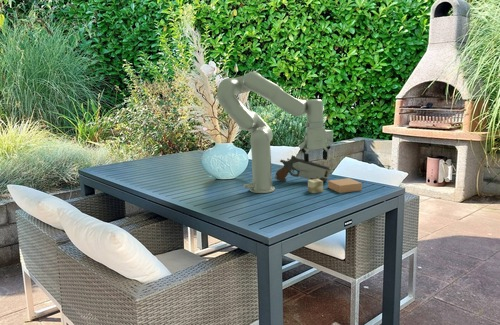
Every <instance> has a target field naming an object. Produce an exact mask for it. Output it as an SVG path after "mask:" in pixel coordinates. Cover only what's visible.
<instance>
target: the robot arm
mask: <svg viewBox="0 0 500 325" xmlns="http://www.w3.org/2000/svg"><path fill="white" fill-rule="evenodd" d="M217 86H218V87H217V90H216V96H217V101H218V103H219V104H220V106H221V107H222V108H223V110H224V111H225V112H226V113H227V114H228V115H229V117H230V118H231V119H232V120H233V121H234V122H235V123H236V125H237V126H238V127H239V128H240V129H241V130H243V131H248V133H250V141H249V142H250V148H251V149H250V150H251V170H252V172H251V173H252V181H250V182H249V183H243V189H249V191H250V192H251V193H254V194H255V193H256V194H267V193H272V192H275V191H276V187H275V186H274V185H272V184H273V182H272V181H273V178H272V150H271V141H272V140H273V138H274V137H273V136H274V133H273V131H272V129H271V127H270V126H269V125H268V124H267V123H266V122H265V121H264V119H263V118H262V117H261V116H260V115H259V114H258V113H257V112H256V111H253V110H252V109H251V110H250V109H248V108H247V107H246V106H245V105H244V104H243V103H242V102H241V101H240V100H239V99H238V98H237V97H236V96H237V95H241V94H244V93H249V92H252V93H254V94H257V95H258V96H259V97H262V98H263V99H265V100H267V101H268V102H270V103H271V104H273V105H275V106H276V107H278V108H279V109H280V110H283V111H284V112H287V114H288V113H289V115H291V116H294V117H300V116H302V115H306V123H304V127H306V128H305V133H304V141H302V142H301V143H299V144H298V147H299V150H300V151H301V152H302V153H303V160H305V162H309V161H310V160H309V159H310V157H309V155H310V154H309V152H310V150H311V151H314V150H322V160H324V161H328V153H329V150H330V149H331V147H332V145H333V142H332V141H331V140H329V139H328V138H327V132H326V128H325V127H324V109H323V108H324V107H323V106H324V103H323V100H322V99H319V98H314V99H301V98H300V99H299V98H296V97H294V96H292V95H291V94H289V93H288V92H286V91H285V90H283V89H282V88H281V86H279V84H276V83H275V82H274V81H273V82H272V81H271V80H269V79H267V78H265V77H264V76H262V75H261V73H258V72H256V71H249V72H247V73H246V74H244V75H240V76H237V77H227V78H223V80H221V81H220V82H219V84H218V85H217Z"/></svg>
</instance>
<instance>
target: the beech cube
mask: <svg viewBox="0 0 500 325" xmlns="http://www.w3.org/2000/svg"><path fill="white" fill-rule="evenodd" d="M307 192H310V193H311V194H316V193H324V182H323V181H322V180H319V179H312V180H311V179H310V180H309V179H307Z"/></svg>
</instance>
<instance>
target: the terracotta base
mask: <svg viewBox="0 0 500 325" xmlns="http://www.w3.org/2000/svg"><path fill="white" fill-rule="evenodd" d="M362 186H363V183H362V182H359V181H357V180H354V179H352V178H350V177H348V178H340V179H330V180H327V188H328V189H330V190H332V191H335V192H337V193H338V194H343V193H351V192H361V191H363V189H362V188H363V187H362Z"/></svg>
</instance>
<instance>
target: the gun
mask: <svg viewBox="0 0 500 325" xmlns="http://www.w3.org/2000/svg"><path fill="white" fill-rule="evenodd" d="M286 159H287V160H285V159H280V160H279V162H280V163H281V164H283V167H281V168H279V169H278V170H277V171H276V173H275V175H274V180H277V181H280V182H283V183H285V182H287V178H286V177H287V176H288V174H290V176H292V177H296V178H297V177H299V178H304V179H306V180H312V179H319V180H322V181H323V183H324V182H328V179H329V175H330V172H331V168H330V167H329V166H326V165H323V164H320V163H316V162H312V161H310V160H309V162H305V160H304V158H299V157H297V156H296V155H291V158H286ZM295 171H296V172H297V173H295Z"/></svg>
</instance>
